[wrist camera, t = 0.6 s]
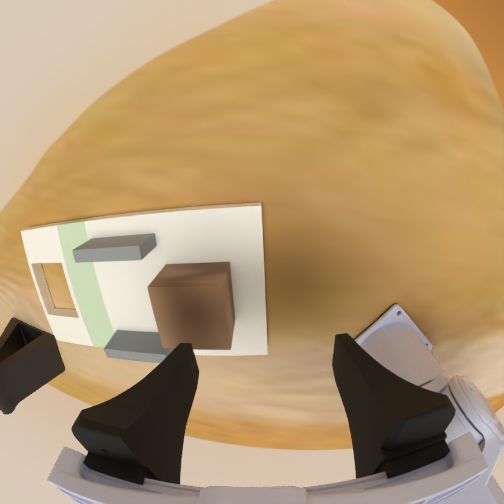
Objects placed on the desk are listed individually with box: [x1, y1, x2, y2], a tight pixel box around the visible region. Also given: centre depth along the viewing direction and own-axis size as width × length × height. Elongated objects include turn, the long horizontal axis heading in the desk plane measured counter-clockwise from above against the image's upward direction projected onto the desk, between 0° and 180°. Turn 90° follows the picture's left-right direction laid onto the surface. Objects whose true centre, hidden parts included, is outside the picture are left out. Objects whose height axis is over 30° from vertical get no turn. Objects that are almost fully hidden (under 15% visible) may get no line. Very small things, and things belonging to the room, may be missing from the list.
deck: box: [21, 202, 268, 363], centre depth 21 cm, size 24×13×4 cm, turn 93°
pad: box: [57, 217, 114, 347], centre depth 22 cm, size 4×13×2 cm, turn 3°
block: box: [147, 262, 235, 350], centre depth 19 cm, size 5×5×4 cm
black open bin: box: [0, 318, 65, 414], centre depth 21 cm, size 9×6×12 cm, turn 81°
